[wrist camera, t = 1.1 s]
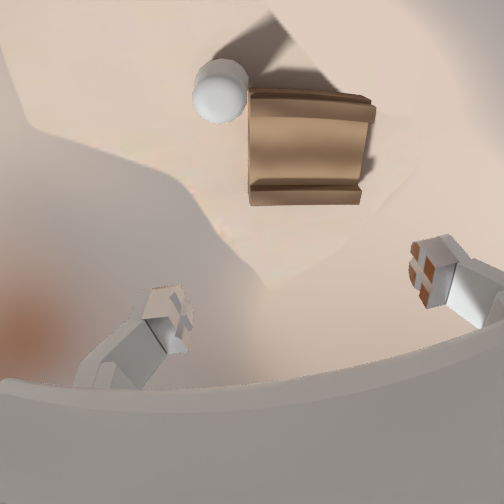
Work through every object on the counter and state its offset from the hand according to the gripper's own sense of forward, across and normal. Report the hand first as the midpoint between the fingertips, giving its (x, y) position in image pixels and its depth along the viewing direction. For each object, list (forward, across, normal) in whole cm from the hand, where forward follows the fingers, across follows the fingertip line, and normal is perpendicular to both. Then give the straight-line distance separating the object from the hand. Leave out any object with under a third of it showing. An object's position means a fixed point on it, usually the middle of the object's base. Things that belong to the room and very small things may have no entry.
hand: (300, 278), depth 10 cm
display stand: (+30, -4, +4) cm, 30 cm away
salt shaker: (+28, +4, -6) cm, 29 cm away
